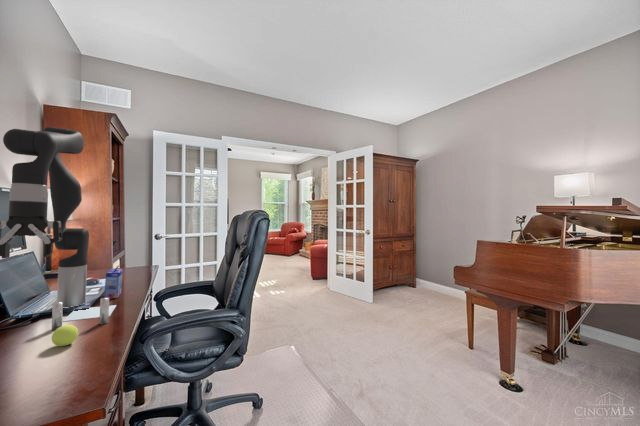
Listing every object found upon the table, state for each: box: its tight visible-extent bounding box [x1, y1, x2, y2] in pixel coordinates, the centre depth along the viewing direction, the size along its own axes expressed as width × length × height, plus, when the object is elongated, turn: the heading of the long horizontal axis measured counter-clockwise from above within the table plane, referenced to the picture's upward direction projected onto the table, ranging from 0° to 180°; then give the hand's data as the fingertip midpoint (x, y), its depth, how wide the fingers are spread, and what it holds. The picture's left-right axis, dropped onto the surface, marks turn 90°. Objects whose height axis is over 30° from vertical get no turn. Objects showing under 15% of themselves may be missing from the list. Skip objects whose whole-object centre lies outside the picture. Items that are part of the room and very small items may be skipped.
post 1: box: [51, 301, 64, 331], centre depth 95 cm, size 3×3×9 cm
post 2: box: [98, 297, 110, 325], centre depth 101 cm, size 3×3×9 cm
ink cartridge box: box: [103, 265, 124, 299], centre depth 133 cm, size 10×6×14 cm, turn 27°
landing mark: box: [62, 304, 117, 323], centre depth 111 cm, size 14×14×1 cm
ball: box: [51, 324, 79, 347], centre depth 84 cm, size 6×6×6 cm
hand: (26, 257), depth 78 cm, fingers open, 8 cm apart
